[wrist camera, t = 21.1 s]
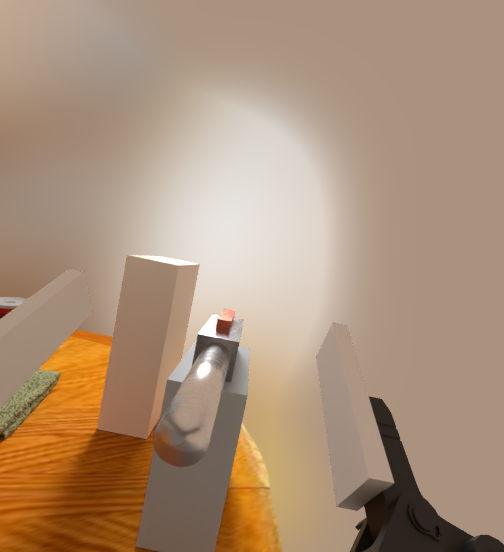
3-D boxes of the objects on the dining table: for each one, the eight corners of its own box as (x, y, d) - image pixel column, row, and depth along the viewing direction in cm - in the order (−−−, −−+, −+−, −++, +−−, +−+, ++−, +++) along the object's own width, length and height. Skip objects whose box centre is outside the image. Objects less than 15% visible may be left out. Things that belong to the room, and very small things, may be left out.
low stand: (135, 546, 26) (167, 379, 24) (175, 450, 39) (197, 338, 37) (212, 562, 26) (247, 395, 24) (226, 460, 39) (249, 348, 37)
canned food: (13, 338, 62) (19, 295, 62) (36, 347, 60) (43, 303, 59) (-29, 347, 55) (-22, 298, 54) (-4, 358, 53) (3, 307, 52)
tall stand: (97, 429, 40) (127, 254, 38) (138, 385, 54) (161, 256, 52) (146, 439, 40) (179, 265, 38) (174, 392, 54) (199, 264, 52)
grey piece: (136, 468, 14) (153, 375, 14) (207, 342, 36) (215, 305, 36) (211, 484, 14) (230, 391, 14) (237, 348, 36) (245, 311, 36)
